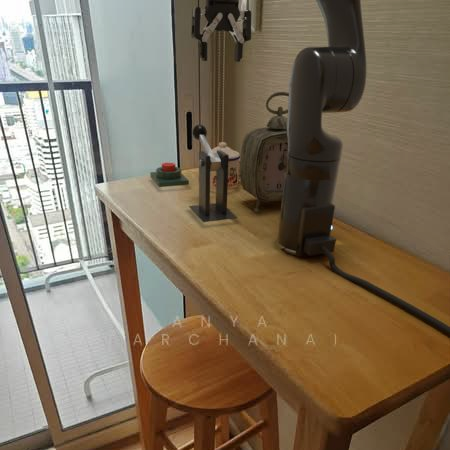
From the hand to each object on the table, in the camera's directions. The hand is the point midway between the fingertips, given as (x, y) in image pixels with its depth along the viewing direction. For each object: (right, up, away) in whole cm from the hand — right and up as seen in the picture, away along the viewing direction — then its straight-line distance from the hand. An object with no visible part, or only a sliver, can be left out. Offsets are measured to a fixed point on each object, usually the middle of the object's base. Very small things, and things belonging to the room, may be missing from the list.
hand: (221, 61), depth 99 cm
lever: (-3, -26, -10) cm, 28 cm away
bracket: (-2, -39, -7) cm, 40 cm away
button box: (-14, -26, +12) cm, 32 cm away
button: (-14, -23, +10) cm, 29 cm away
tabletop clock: (+12, -36, -1) cm, 38 cm away
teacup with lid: (+1, -28, +11) cm, 30 cm away
